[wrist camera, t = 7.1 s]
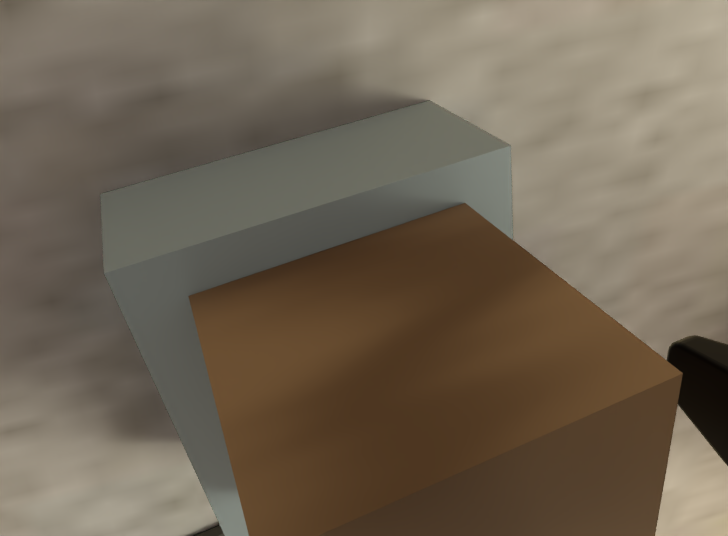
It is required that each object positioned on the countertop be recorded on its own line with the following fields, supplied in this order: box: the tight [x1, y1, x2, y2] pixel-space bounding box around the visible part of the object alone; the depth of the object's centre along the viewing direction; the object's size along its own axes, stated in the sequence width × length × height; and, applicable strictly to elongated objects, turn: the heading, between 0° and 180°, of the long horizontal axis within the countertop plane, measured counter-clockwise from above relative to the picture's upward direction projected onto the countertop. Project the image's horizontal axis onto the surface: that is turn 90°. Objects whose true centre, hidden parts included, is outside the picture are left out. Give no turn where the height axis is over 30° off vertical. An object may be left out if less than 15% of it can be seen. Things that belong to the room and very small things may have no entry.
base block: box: [100, 100, 513, 536], centre depth 13 cm, size 7×7×4 cm
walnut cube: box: [188, 203, 683, 536], centre depth 10 cm, size 5×5×5 cm
